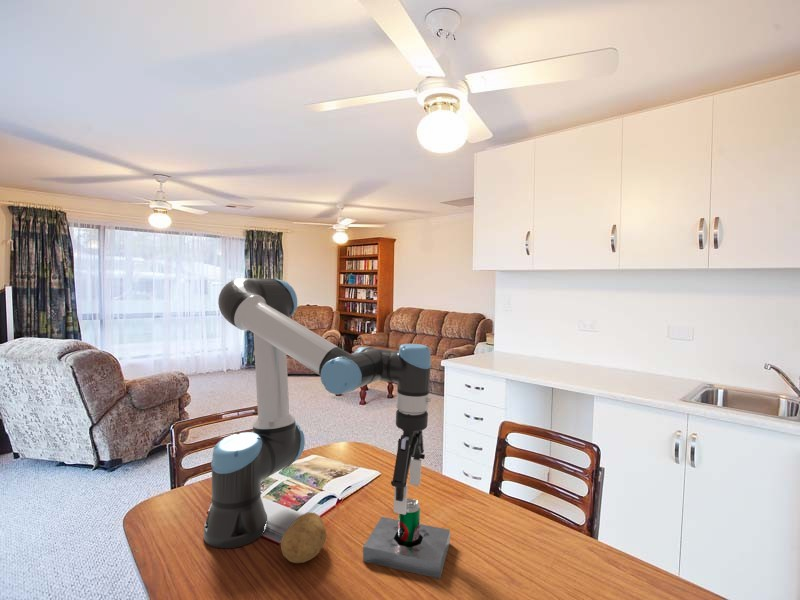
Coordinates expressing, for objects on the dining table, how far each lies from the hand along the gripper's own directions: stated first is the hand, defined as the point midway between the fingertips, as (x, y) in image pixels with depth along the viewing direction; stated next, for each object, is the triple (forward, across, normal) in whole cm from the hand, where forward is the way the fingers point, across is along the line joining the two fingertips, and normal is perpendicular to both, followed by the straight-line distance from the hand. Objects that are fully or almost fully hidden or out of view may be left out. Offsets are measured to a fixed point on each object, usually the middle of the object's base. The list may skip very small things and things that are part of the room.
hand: (407, 497), depth 99 cm
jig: (+13, 0, -1) cm, 13 cm away
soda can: (+13, 0, -1) cm, 13 cm away
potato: (+14, -9, +22) cm, 28 cm away
